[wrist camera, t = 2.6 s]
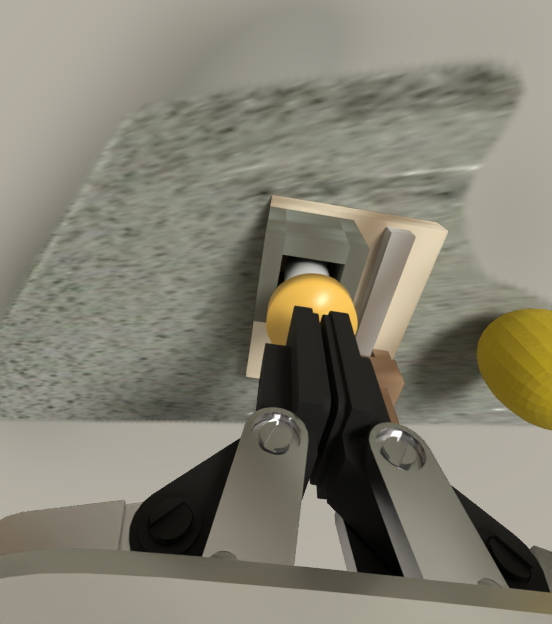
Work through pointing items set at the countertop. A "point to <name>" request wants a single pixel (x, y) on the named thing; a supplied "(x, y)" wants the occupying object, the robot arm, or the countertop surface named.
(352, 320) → the button
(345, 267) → the rail base
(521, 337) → the lemon
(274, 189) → the countertop surface
